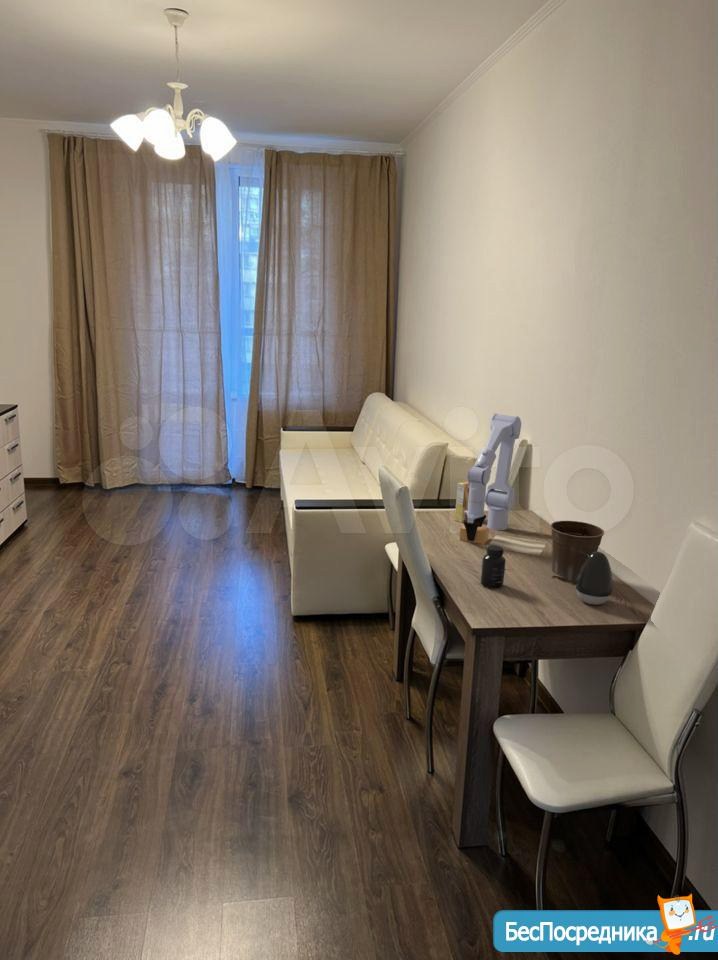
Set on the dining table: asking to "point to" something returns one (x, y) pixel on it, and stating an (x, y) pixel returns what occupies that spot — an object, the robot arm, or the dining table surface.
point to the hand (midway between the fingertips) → (473, 537)
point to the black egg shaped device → (594, 579)
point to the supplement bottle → (493, 567)
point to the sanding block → (479, 537)
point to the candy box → (462, 501)
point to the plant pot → (572, 547)
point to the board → (518, 544)
